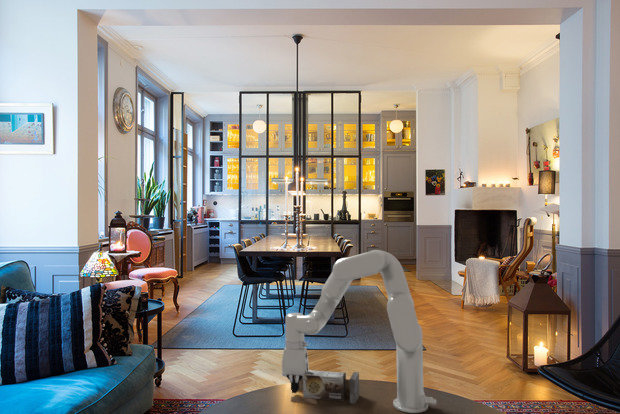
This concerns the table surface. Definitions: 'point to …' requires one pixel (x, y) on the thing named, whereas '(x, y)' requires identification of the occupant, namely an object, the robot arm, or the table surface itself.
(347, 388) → the book slot
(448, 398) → the table surface
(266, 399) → the table surface
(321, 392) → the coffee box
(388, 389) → the table surface
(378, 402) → the table surface
